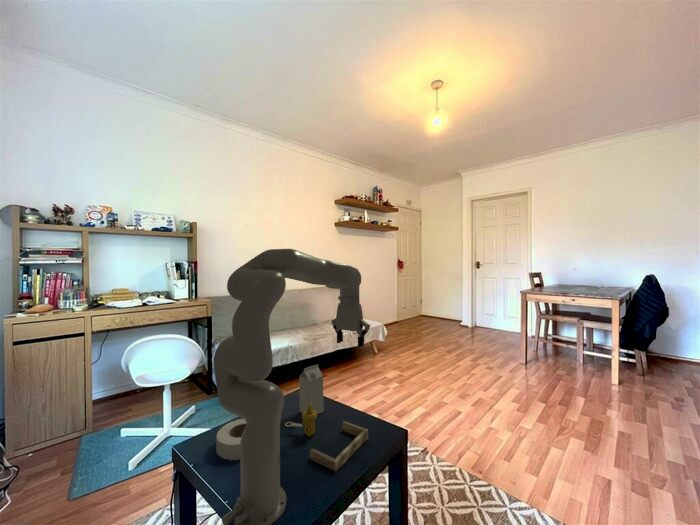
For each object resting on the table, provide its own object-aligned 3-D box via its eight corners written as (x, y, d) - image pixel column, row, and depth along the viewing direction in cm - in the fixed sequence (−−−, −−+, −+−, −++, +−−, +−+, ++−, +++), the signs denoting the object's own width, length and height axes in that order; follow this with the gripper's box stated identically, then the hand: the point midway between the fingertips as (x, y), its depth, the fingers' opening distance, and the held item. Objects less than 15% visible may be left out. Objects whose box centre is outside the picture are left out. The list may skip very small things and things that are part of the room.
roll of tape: (239, 428, 106) (239, 414, 106) (274, 437, 101) (274, 421, 101) (205, 456, 91) (204, 438, 91) (244, 467, 86) (244, 449, 86)
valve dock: (336, 472, 83) (336, 462, 83) (309, 459, 89) (309, 450, 89) (368, 438, 99) (368, 429, 99) (344, 428, 105) (344, 420, 105)
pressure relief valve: (314, 440, 98) (313, 411, 98) (282, 436, 101) (281, 408, 101) (318, 431, 104) (318, 403, 104) (288, 427, 106) (288, 400, 106)
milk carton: (299, 411, 117) (299, 366, 117) (313, 405, 122) (313, 362, 122) (309, 418, 112) (308, 371, 112) (323, 412, 117) (323, 366, 117)
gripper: (326, 299, 110) (326, 343, 110) (363, 303, 100) (364, 350, 101) (337, 297, 116) (337, 338, 116) (374, 300, 107) (374, 345, 107)
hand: (350, 344), depth 108 cm, fingers open, 9 cm apart
